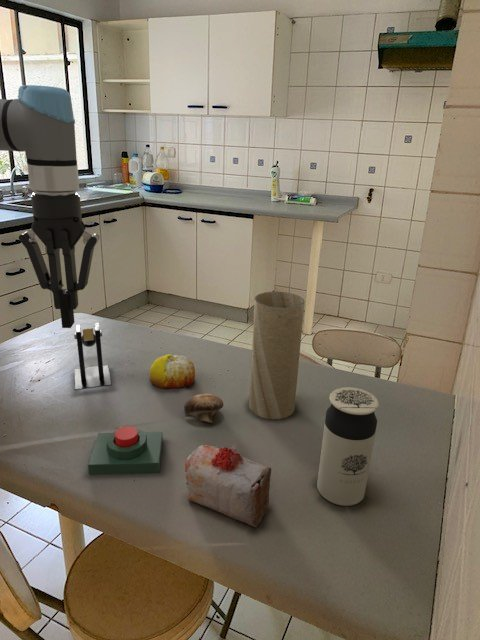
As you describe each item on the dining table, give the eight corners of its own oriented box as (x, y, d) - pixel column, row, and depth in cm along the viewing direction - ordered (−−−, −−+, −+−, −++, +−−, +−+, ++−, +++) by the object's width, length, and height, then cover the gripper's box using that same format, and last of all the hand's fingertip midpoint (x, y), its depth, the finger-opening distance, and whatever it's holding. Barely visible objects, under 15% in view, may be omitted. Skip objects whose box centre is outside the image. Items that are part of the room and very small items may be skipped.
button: (113, 448, 81) (112, 439, 81) (117, 434, 85) (116, 426, 84) (136, 447, 82) (136, 439, 81) (139, 433, 85) (138, 425, 85)
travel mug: (315, 471, 83) (326, 384, 76) (360, 476, 82) (375, 388, 75) (318, 504, 76) (330, 410, 69) (367, 509, 75) (384, 415, 68)
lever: (82, 348, 115) (80, 333, 116) (97, 346, 116) (95, 332, 117) (80, 342, 103) (79, 326, 103) (97, 341, 104) (95, 325, 104)
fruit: (179, 398, 103) (170, 365, 101) (145, 396, 109) (135, 365, 107) (207, 376, 112) (198, 345, 110) (174, 376, 118) (165, 347, 116)
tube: (274, 389, 109) (282, 288, 99) (303, 410, 101) (315, 302, 92) (240, 402, 103) (244, 296, 94) (268, 424, 96) (276, 312, 86)
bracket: (74, 373, 113) (68, 320, 107) (108, 369, 115) (104, 317, 110) (75, 394, 104) (68, 338, 99) (112, 389, 106) (107, 334, 101)
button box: (89, 474, 80) (86, 456, 79) (99, 442, 88) (97, 424, 87) (159, 472, 81) (158, 454, 80) (162, 441, 89) (162, 423, 88)
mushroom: (217, 421, 90) (211, 390, 92) (181, 429, 93) (175, 398, 94) (231, 419, 98) (225, 390, 99) (197, 426, 100) (192, 398, 101)
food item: (177, 502, 75) (176, 452, 71) (203, 472, 82) (203, 426, 78) (253, 535, 69) (257, 483, 66) (274, 500, 76) (278, 451, 72)
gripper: (100, 190, 79) (108, 317, 88) (22, 187, 78) (38, 316, 87) (91, 196, 72) (100, 334, 81) (4, 193, 71) (24, 332, 80)
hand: (68, 324), depth 84 cm, fingers closed
